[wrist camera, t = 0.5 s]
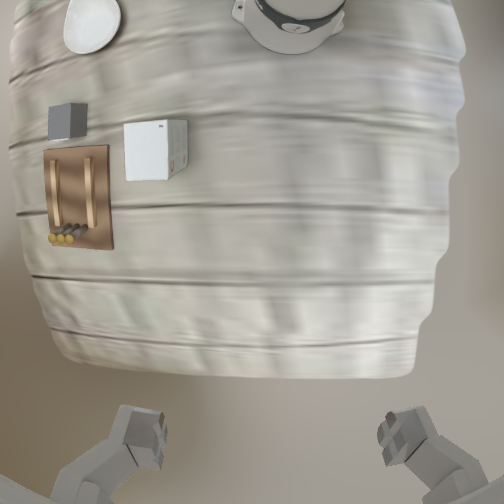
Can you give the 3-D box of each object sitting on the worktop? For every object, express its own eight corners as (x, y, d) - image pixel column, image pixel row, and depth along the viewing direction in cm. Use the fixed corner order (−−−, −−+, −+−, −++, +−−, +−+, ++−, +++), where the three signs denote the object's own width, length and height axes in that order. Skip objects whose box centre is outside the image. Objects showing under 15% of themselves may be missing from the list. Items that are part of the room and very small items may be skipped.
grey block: (66, 107, 44) (48, 107, 38) (87, 104, 44) (71, 103, 39) (65, 138, 46) (48, 141, 41) (86, 136, 47) (69, 139, 41)
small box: (151, 122, 46) (122, 122, 34) (188, 119, 46) (168, 118, 34) (153, 167, 49) (124, 182, 37) (188, 166, 50) (169, 180, 38)
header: (46, 149, 47) (22, 155, 40) (109, 144, 47) (88, 149, 40) (54, 243, 55) (35, 259, 48) (114, 248, 55) (97, 265, 48)
